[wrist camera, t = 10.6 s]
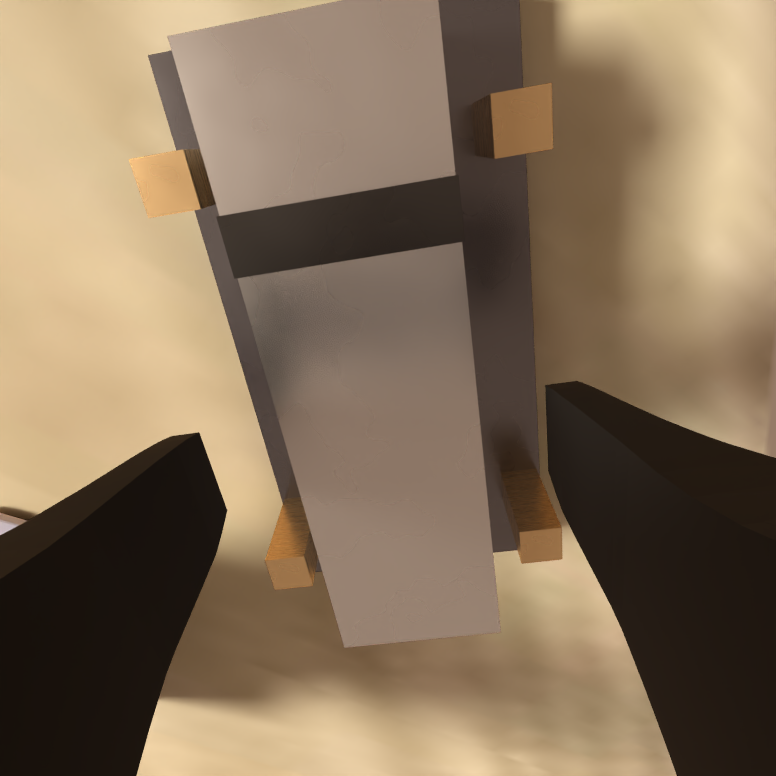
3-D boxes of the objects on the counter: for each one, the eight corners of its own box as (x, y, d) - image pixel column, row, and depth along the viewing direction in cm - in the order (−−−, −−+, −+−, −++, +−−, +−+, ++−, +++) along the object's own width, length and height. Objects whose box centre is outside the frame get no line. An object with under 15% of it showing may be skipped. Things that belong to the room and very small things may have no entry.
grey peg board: (535, 525, 20) (566, 614, 16) (309, 550, 21) (289, 641, 17) (508, -5, 13) (554, -66, 9) (167, 62, 14) (80, 31, 10)
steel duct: (479, 524, 19) (502, 633, 15) (354, 538, 19) (342, 649, 15) (425, 32, 12) (439, -21, 8) (239, 69, 13) (163, 36, 9)
